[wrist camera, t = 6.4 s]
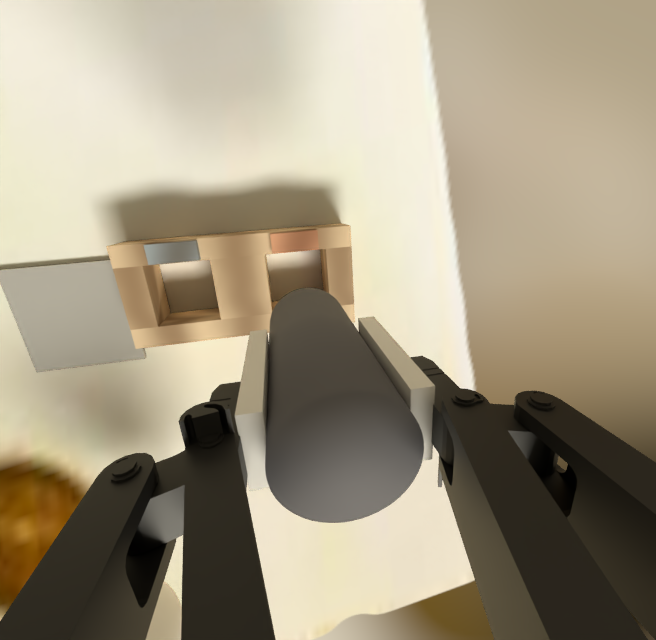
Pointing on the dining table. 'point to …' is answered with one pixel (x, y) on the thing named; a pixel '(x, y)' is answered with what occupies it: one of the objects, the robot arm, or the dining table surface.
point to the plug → (333, 416)
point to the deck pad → (70, 314)
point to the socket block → (223, 280)
